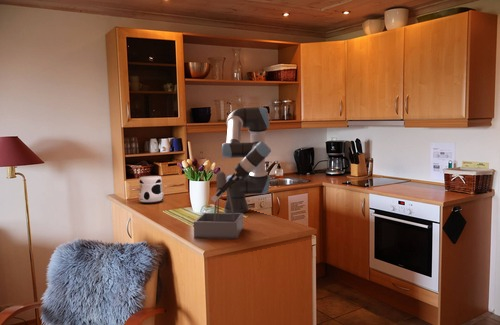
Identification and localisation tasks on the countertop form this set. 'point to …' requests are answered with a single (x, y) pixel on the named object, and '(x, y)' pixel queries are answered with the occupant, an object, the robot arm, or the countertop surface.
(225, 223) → the gray open bin
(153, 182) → the milk container
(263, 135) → the robot arm
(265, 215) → the countertop surface
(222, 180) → the citrus juicer
